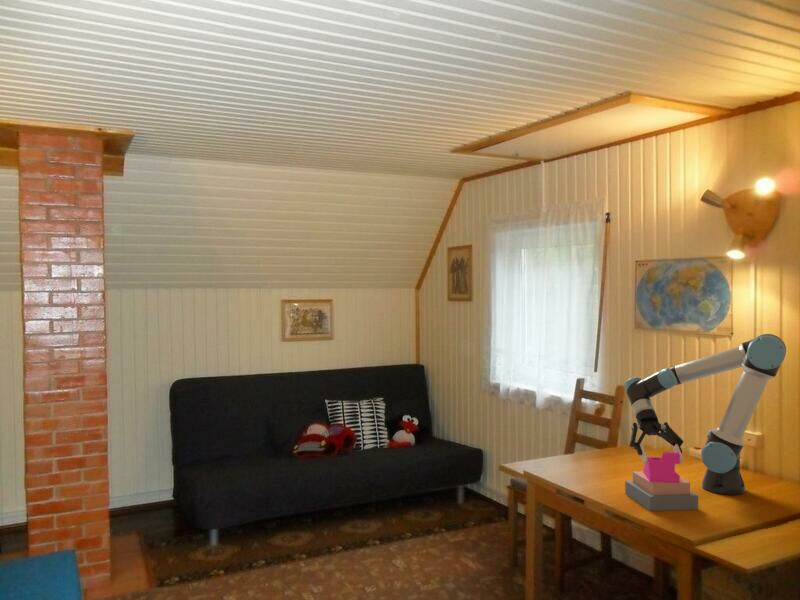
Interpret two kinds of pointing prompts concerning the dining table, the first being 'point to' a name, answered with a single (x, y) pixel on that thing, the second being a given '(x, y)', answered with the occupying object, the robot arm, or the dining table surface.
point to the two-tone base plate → (661, 494)
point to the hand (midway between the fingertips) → (663, 462)
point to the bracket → (662, 468)
